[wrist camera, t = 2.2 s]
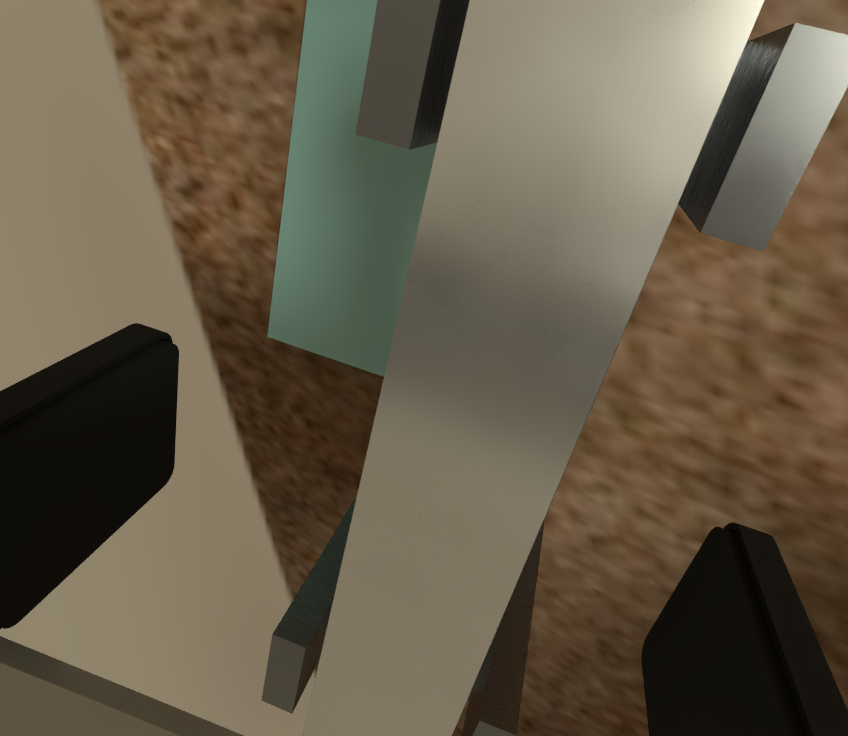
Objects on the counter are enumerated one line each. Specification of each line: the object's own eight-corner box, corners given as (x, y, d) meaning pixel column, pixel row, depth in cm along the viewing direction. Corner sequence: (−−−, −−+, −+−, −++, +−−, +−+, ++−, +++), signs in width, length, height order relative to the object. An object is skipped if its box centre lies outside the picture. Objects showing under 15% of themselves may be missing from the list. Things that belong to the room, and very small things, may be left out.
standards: (737, 53, 17) (988, -32, 6) (546, 505, 25) (504, 827, 14) (501, -5, 18) (347, -168, 7) (389, 448, 26) (233, 708, 15)
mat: (549, -199, 16) (548, -206, 15) (406, 379, 24) (403, 383, 24) (341, -239, 17) (336, -247, 16) (271, 333, 25) (267, 337, 24)
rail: (738, -30, 8) (801, -90, 6) (446, 701, 16) (416, 819, 13) (533, -77, 9) (504, -151, 6) (344, 659, 17) (295, 766, 14)
